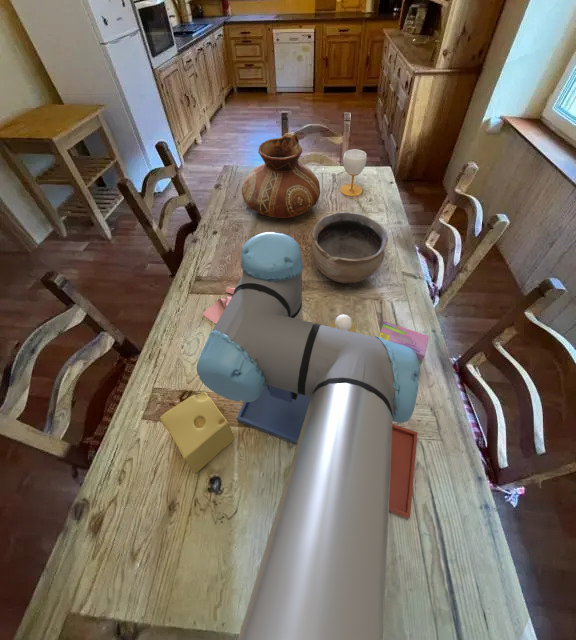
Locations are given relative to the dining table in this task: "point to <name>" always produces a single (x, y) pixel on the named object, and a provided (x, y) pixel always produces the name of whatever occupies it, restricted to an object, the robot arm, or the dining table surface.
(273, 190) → the jug
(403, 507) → the red tray
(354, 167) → the cup
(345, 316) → the perfume bottle
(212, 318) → the cloth
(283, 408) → the blue tray
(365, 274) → the ceramic bowl
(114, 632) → the dining table surface
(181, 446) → the cheese
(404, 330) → the box
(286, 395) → the blue block
